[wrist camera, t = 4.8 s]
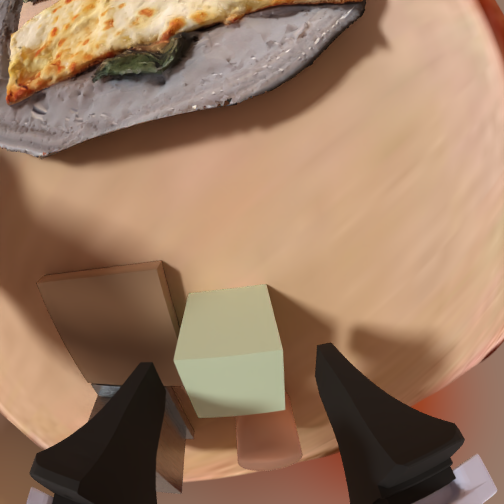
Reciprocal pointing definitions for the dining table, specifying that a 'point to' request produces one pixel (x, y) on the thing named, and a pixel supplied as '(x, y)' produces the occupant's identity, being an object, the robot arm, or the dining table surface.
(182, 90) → the food plate
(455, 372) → the dining table surface
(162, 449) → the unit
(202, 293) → the sage block
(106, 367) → the pad
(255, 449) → the terracotta cylinder
